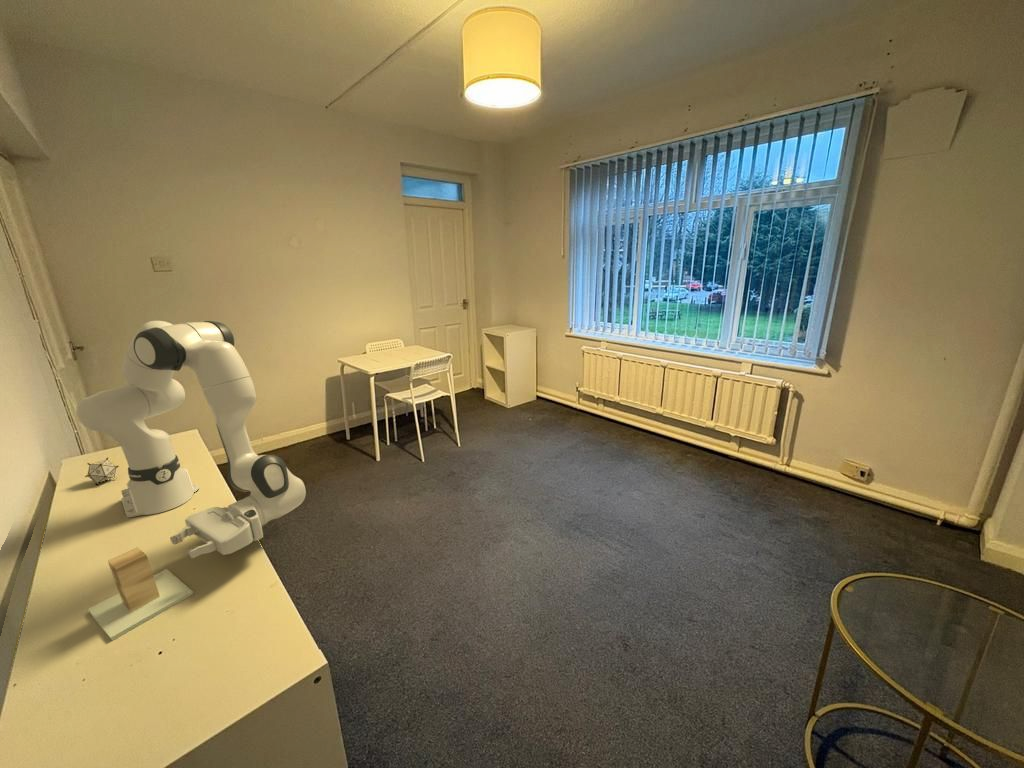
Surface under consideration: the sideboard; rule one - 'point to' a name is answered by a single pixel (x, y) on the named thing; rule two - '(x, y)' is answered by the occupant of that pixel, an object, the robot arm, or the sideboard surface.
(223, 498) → the sideboard surface
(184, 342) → the robot arm
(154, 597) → the maple block
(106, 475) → the game die
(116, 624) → the sage mat
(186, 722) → the sideboard surface
